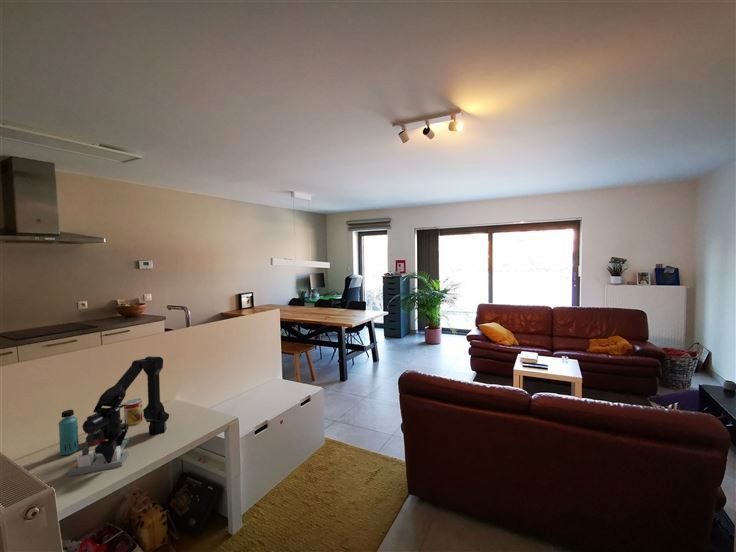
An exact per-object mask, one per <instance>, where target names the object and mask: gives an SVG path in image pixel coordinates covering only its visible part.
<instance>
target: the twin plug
mask: <svg viewBox="0 0 736 552" xmlns="http://www.w3.org/2000/svg"><path fill="white" fill-rule="evenodd" d="M94 455H95V449H94V450H93V449H92V450H90V446H85V447H83V448H82V449H81V453H79V455H78V456H77V458H76V459H77V461H78V468H82V467H87V466H91V465H92V464H93V463H94Z"/></svg>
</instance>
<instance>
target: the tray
mask: <svg viewBox="0 0 736 552" xmlns="http://www.w3.org/2000/svg"><path fill="white" fill-rule="evenodd" d="M131 439H132V438H131V436H128V437H127V436H126V437H125V438H124V440H123V442H122V445H121V447H120V450H121V452H124V451H123V450H124V449H125V448H126V446H127V445H128V443H129V441H130V440H131ZM99 456H103V454H98V453H97V454H96V453H94V457H99Z"/></svg>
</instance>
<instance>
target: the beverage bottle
mask: <svg viewBox="0 0 736 552" xmlns="http://www.w3.org/2000/svg"><path fill="white" fill-rule="evenodd" d="M74 414H75V413H74V409H66V410H64V411H62V412H61V418H62V419H60V420H59V422H58V433H59V434H58V435H59V441H58V442H59V443H58V444H59V454H60V455H62V456H66V455H71V454H72V453H75V452H77V450H79V446H80V445H79V442H80V441H79V425H78V418H77V417H76V416H73V415H74Z"/></svg>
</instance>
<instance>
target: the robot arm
mask: <svg viewBox="0 0 736 552" xmlns="http://www.w3.org/2000/svg"><path fill="white" fill-rule="evenodd" d="M163 368H164V358H163V357H161V356H151V355H150V356H146V357H145V358H141V359H135V360H133V361H132V362H131V365H130V366H129V367H128V369H127V370H125V372H124V374H123V375H122V376H121V377H120V378H119V380H118V381H117V382H116V383H114V385H113V386H111V387H108V388H107V389H106V390H105V391H104V392H103V393H102V394H101V395H100V396H99V399H98V401H97V403H96V404H95V405H96V406H94V409H93V411H92V413H94V414H91V415H88V416H87V417H86V420H84V422H83V424H82V430H83V432H84V433H85V434H87V436H86V437H85V443H87V444H88V443H89V444H91V443H93V442H94V441H97V440H99V439H101V440H104V439H106V441H102V442H100V443H99V444H98V445H96V446H95V448H94V454H97V453H98V454H103V456H104V458H105V460H106V462H107V463H111V461H112V458H113V455H114V453H115V450H116V447H117V446H120V447H121V445H122V442H123V440H124V438H126V437H127V436H126V435H127V433H128V430H130V429H129V428H130V427H128V424H125V423H123V419H121V408H124V403H123V404H122V402H123V400H124V399H125V398H126V394H127V390H128V389H129V387H130V386H131V384H132V383H134V381H135V379H136V378H138V376H139V374H140V373H141V372H142V371H143V372H144V373H145V375H146V376H147V377H146V378H147V405H146V406H145V407H144V408H142V417H143V419H144V420H145V421H146V423H149V424H148V434H149V437H151V436H157V435H162V434H165V432H166V430H167V428H168V427H167V426H166V425H167V424H166V423H167V422H168V420H169V418H170V413H168V412H166V411H165V406H164V404H163V403H162V402H161V391H160V390H161V389H160V386H161V385H160V373H161V371H162V369H163ZM88 434H89V435H88Z"/></svg>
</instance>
